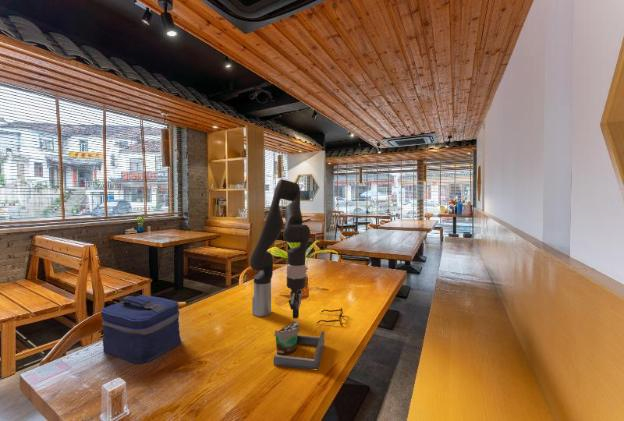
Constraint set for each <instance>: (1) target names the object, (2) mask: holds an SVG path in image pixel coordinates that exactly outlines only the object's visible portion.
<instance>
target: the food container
mask: <svg viewBox="0 0 624 421" xmlns="http://www.w3.org/2000/svg"><path fill="white" fill-rule="evenodd" d="M299 332H300V325H299V323H298V321H296V320H294V319H293V322H292V323H290V324H288V325H285V326H284V327H282V328H280V330H276V329H275V330H274V337H275V345H276V346H275V347H276V355H282V356H290V355H292V354H294V353H295V352H296V351H297V345H298V344H297V336H298V335H299Z"/></svg>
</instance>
